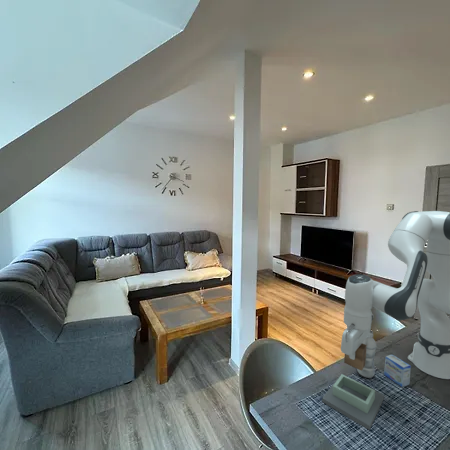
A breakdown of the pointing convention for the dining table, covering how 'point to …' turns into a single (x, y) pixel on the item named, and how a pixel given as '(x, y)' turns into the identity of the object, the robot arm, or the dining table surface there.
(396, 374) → the medicine box
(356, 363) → the walnut block
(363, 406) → the board
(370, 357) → the plastic bottle
